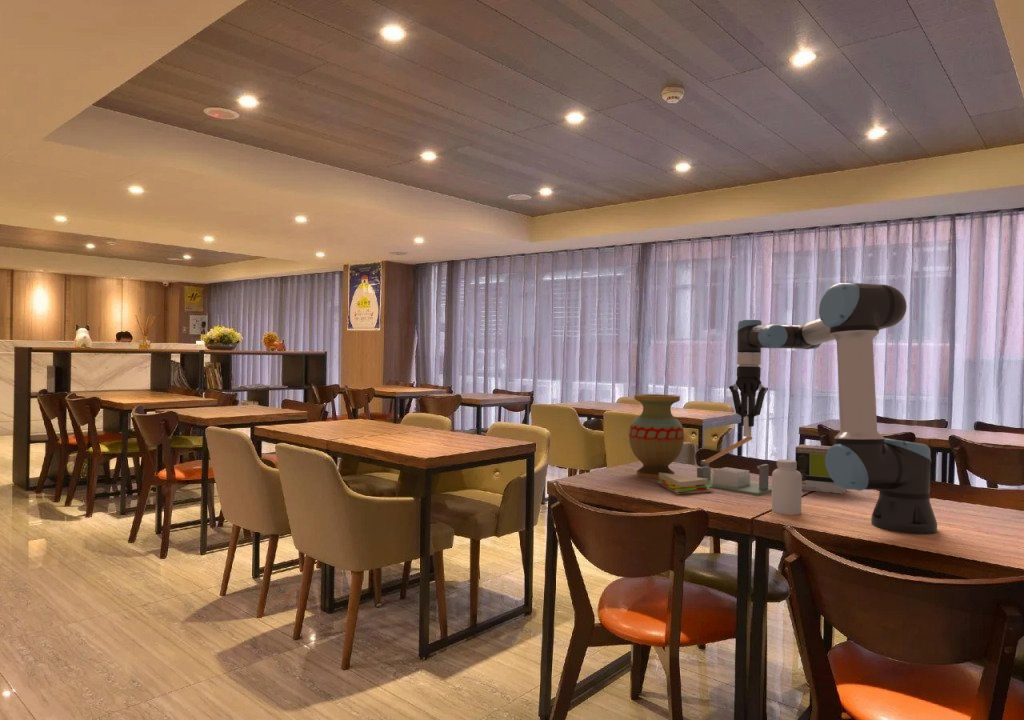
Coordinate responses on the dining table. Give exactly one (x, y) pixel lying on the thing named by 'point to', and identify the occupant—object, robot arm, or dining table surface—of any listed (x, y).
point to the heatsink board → (737, 480)
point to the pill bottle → (786, 488)
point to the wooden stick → (724, 452)
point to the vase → (656, 434)
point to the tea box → (815, 469)
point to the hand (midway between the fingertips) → (747, 436)
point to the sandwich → (683, 483)
